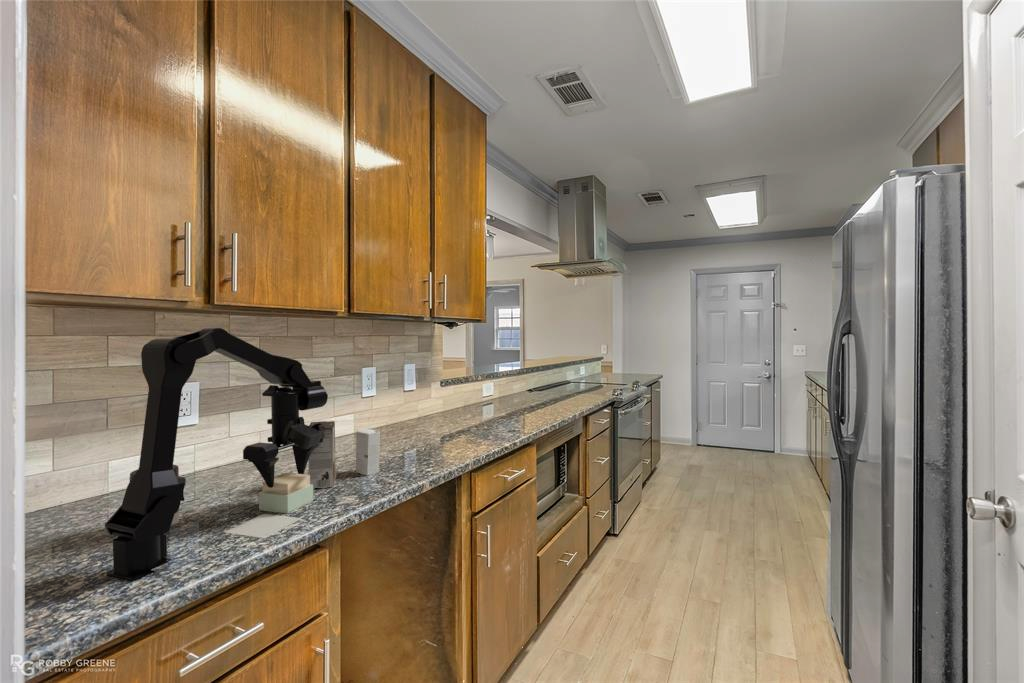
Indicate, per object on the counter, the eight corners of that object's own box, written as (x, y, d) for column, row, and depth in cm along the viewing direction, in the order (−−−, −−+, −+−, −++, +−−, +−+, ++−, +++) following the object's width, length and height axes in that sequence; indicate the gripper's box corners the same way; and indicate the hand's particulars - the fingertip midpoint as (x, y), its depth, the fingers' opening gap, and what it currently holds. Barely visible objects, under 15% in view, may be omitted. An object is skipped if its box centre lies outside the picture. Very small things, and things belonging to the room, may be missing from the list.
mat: (264, 541, 89) (264, 538, 89) (224, 535, 92) (224, 532, 92) (301, 521, 99) (301, 518, 99) (264, 516, 102) (264, 513, 102)
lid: (287, 494, 102) (287, 484, 102) (262, 492, 104) (262, 481, 104) (310, 485, 109) (309, 474, 109) (285, 482, 111) (285, 472, 111)
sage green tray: (287, 516, 102) (287, 495, 102) (259, 512, 104) (258, 492, 104) (313, 503, 109) (313, 484, 109) (286, 500, 112) (285, 481, 112)
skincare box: (355, 472, 134) (354, 431, 134) (368, 468, 138) (367, 428, 137) (367, 476, 130) (367, 433, 130) (381, 472, 134) (380, 430, 134)
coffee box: (311, 479, 128) (310, 421, 127) (336, 477, 130) (335, 420, 129) (307, 490, 119) (306, 428, 119) (334, 487, 121) (333, 426, 121)
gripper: (282, 422, 95) (284, 498, 95) (340, 408, 113) (341, 472, 113) (240, 420, 98) (241, 493, 99) (303, 407, 116) (304, 468, 116)
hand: (286, 481), depth 107 cm, fingers open, 9 cm apart
